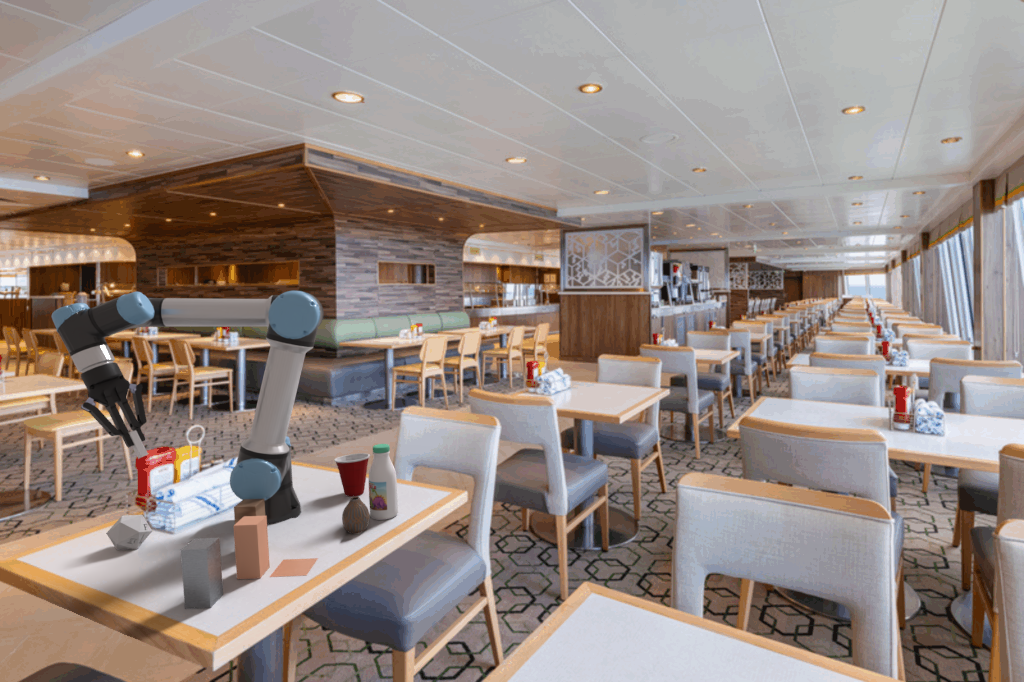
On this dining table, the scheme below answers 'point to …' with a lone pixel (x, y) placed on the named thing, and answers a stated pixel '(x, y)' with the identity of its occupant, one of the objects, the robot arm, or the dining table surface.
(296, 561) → the terracotta coaster
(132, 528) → the die
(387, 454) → the milk bottle
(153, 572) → the dining table surface
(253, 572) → the terracotta post
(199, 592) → the grey post
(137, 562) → the dining table surface
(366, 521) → the vase
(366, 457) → the plastic cup
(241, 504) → the walnut post
